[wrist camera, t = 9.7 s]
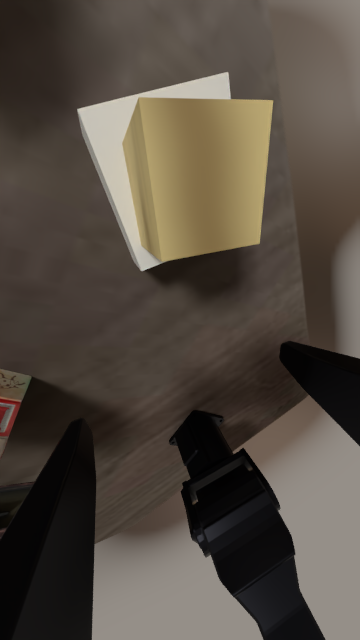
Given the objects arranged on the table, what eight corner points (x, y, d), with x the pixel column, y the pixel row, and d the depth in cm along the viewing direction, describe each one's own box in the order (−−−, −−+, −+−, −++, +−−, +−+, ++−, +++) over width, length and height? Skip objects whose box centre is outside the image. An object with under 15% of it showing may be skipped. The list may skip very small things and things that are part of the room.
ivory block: (196, 105, 14) (228, 72, 10) (216, 228, 18) (243, 231, 15) (82, 136, 13) (77, 108, 9) (132, 259, 17) (141, 271, 14)
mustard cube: (210, 140, 12) (273, 100, 7) (211, 234, 14) (259, 243, 10) (122, 143, 10) (138, 97, 6) (141, 245, 13) (162, 261, 9)
